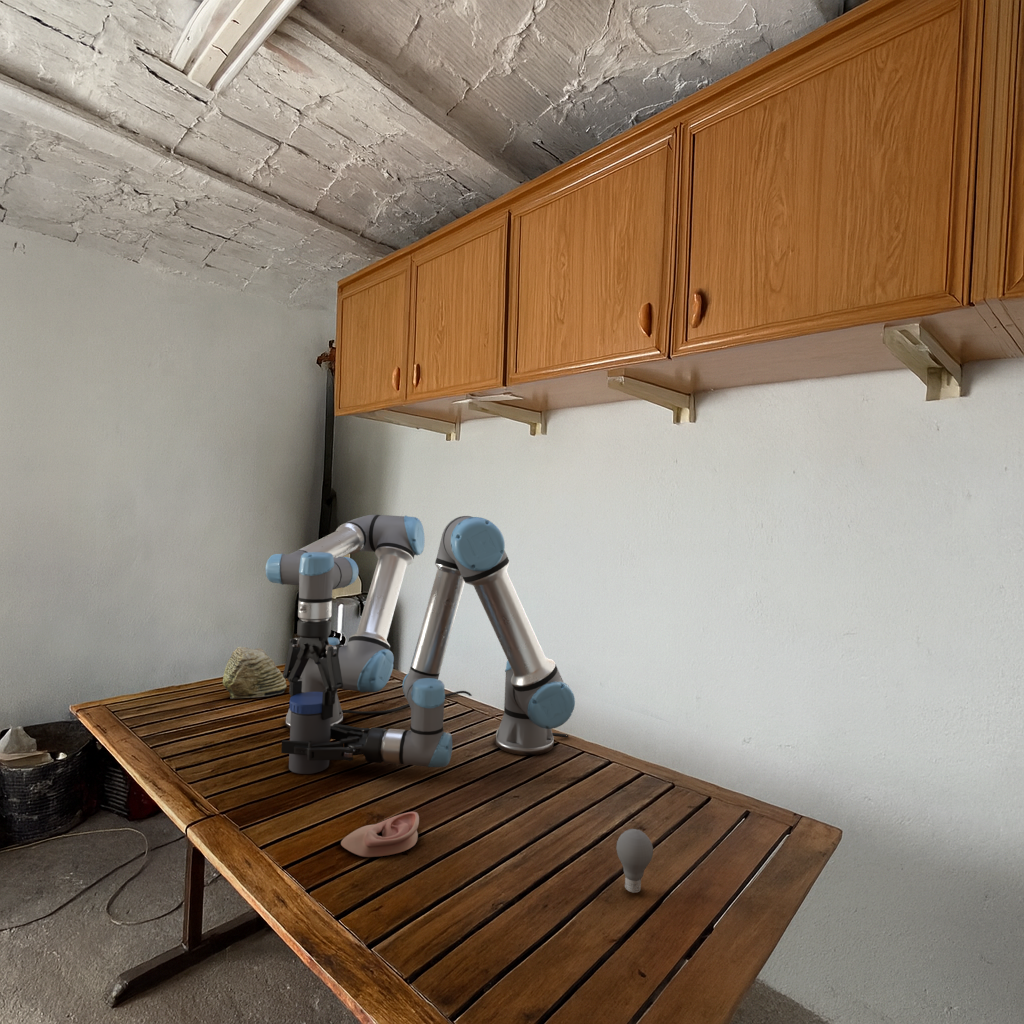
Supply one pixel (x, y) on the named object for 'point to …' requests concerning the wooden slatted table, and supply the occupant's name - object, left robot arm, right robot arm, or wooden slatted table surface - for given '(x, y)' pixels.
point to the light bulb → (634, 857)
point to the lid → (306, 703)
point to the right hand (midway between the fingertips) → (291, 738)
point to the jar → (305, 731)
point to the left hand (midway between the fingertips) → (311, 713)
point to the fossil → (252, 674)
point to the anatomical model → (384, 836)
